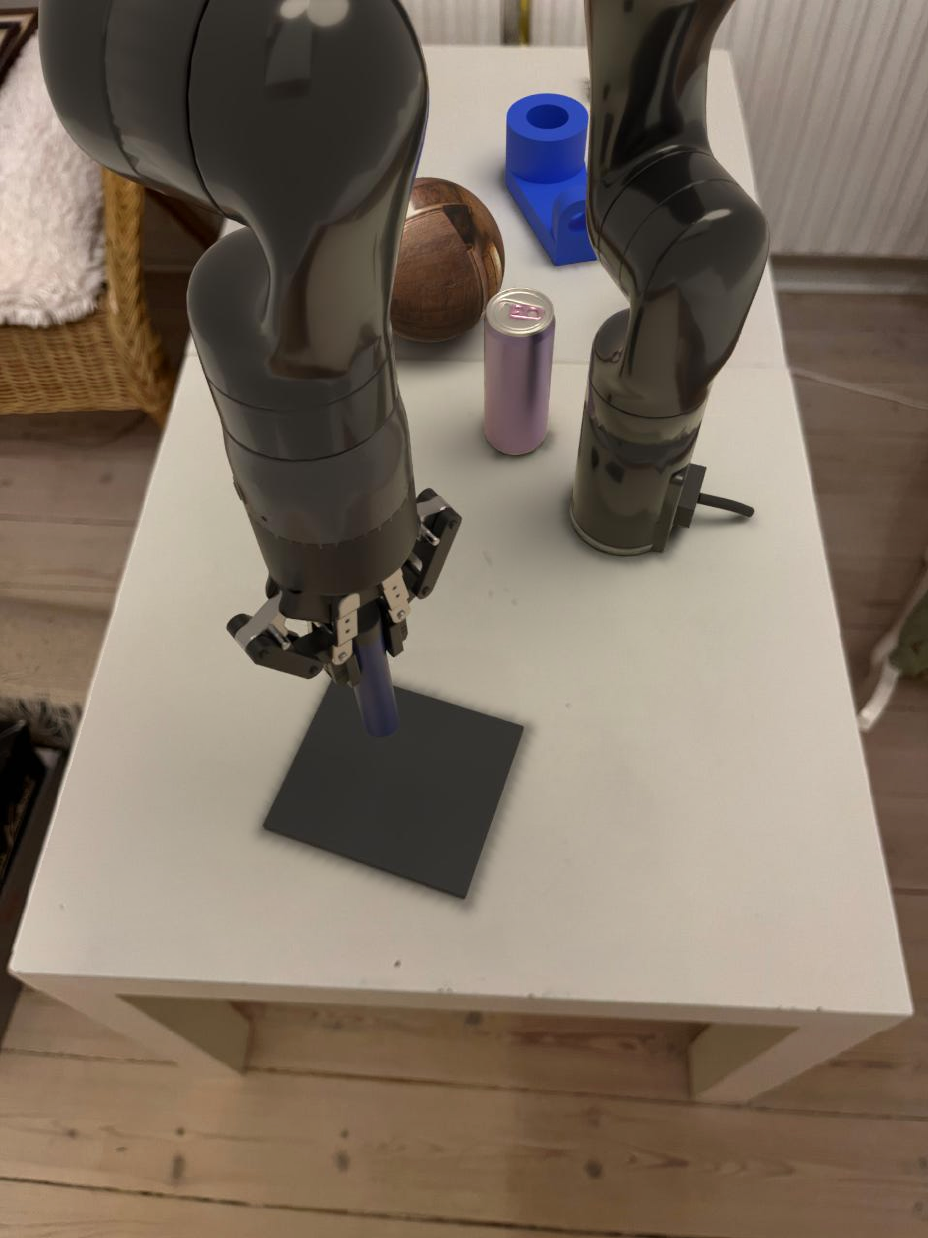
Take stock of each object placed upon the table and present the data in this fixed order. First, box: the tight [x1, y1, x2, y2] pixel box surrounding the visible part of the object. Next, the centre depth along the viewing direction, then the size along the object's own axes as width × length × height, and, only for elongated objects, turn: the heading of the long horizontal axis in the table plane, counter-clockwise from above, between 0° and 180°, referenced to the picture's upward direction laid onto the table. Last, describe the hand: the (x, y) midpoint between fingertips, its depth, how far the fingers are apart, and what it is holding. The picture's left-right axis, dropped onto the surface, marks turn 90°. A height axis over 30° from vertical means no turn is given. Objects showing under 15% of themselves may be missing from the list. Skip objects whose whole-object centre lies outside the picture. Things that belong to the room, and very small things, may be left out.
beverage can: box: [483, 286, 557, 456], centre depth 82 cm, size 6×6×15 cm
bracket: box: [504, 92, 598, 267], centre depth 102 cm, size 20×9×8 cm, turn 11°
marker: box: [352, 601, 399, 737], centre depth 56 cm, size 2×2×14 cm
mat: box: [262, 678, 525, 899], centre depth 70 cm, size 16×14×1 cm
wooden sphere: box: [390, 176, 506, 343], centre depth 90 cm, size 15×15×15 cm
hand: (368, 658), depth 54 cm, fingers closed on marker, 2 cm apart
